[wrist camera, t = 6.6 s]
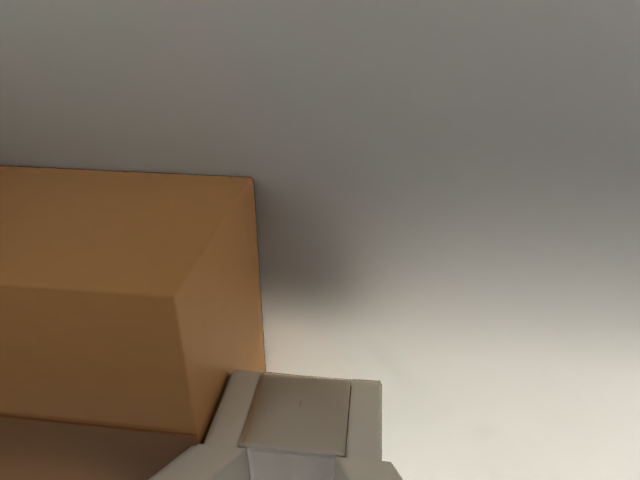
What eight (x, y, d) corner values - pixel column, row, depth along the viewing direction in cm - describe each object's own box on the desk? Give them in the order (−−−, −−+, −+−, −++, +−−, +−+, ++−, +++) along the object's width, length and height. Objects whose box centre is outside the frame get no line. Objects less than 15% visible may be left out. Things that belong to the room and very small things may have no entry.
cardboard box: (254, 176, 9) (172, 298, 6) (269, 419, 12) (222, 596, 9) (-103, 159, 10) (-373, 258, 6) (-5, 392, 13) (-151, 545, 9)
